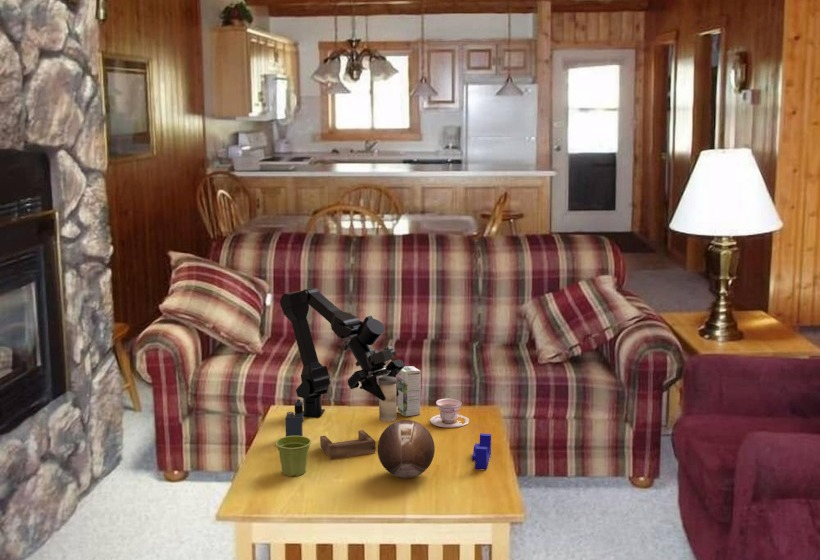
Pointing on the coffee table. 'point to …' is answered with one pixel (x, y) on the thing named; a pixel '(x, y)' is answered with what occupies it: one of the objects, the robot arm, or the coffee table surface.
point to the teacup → (448, 414)
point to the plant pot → (293, 454)
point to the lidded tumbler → (388, 399)
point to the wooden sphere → (406, 449)
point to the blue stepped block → (482, 452)
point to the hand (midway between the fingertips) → (391, 397)
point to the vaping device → (295, 421)
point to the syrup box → (409, 391)
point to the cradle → (348, 446)
